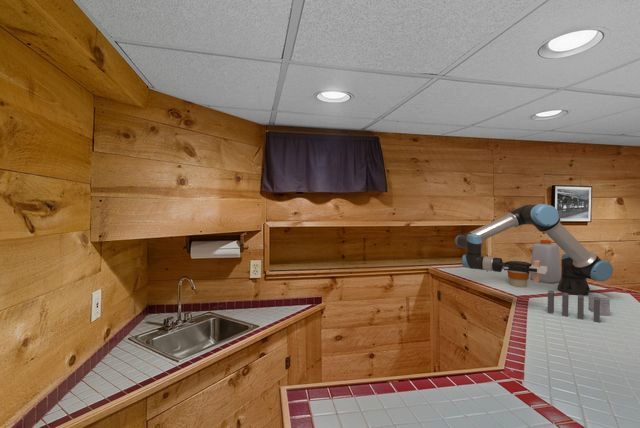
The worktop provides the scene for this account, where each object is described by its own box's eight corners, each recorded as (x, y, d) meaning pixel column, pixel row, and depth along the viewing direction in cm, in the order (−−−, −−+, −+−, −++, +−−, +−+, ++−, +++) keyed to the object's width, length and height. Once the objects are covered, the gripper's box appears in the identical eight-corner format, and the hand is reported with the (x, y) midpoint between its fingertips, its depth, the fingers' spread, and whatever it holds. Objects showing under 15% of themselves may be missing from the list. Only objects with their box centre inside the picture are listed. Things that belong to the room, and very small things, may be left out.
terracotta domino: (533, 281, 150) (533, 261, 150) (535, 279, 153) (535, 260, 153) (538, 282, 148) (538, 262, 148) (539, 280, 152) (540, 260, 152)
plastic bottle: (527, 279, 213) (527, 239, 212) (540, 277, 219) (540, 238, 218) (550, 284, 199) (550, 241, 199) (564, 281, 205) (564, 240, 205)
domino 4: (593, 321, 135) (593, 299, 135) (593, 318, 139) (593, 296, 139) (599, 322, 134) (599, 300, 134) (599, 319, 138) (599, 297, 137)
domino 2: (562, 315, 143) (562, 294, 142) (562, 312, 146) (563, 292, 146) (567, 316, 141) (567, 295, 141) (568, 313, 145) (568, 293, 145)
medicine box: (610, 315, 142) (610, 297, 142) (599, 315, 143) (599, 297, 143) (598, 310, 150) (598, 292, 150) (588, 309, 151) (588, 292, 151)
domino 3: (577, 318, 139) (577, 297, 139) (577, 315, 143) (578, 294, 142) (583, 319, 138) (583, 297, 137) (583, 316, 141) (583, 295, 141)
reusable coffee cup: (507, 282, 205) (507, 260, 205) (530, 284, 198) (530, 262, 198) (506, 286, 195) (506, 263, 195) (529, 289, 188) (529, 265, 188)
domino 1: (547, 313, 146) (547, 292, 146) (548, 310, 150) (549, 290, 150) (552, 314, 145) (553, 293, 145) (553, 311, 149) (554, 291, 148)
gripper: (497, 268, 171) (548, 274, 155) (488, 273, 157) (544, 281, 142) (497, 255, 170) (548, 260, 155) (488, 259, 157) (544, 265, 141)
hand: (546, 270), depth 148 cm, fingers closed on terracotta domino, 5 cm apart
